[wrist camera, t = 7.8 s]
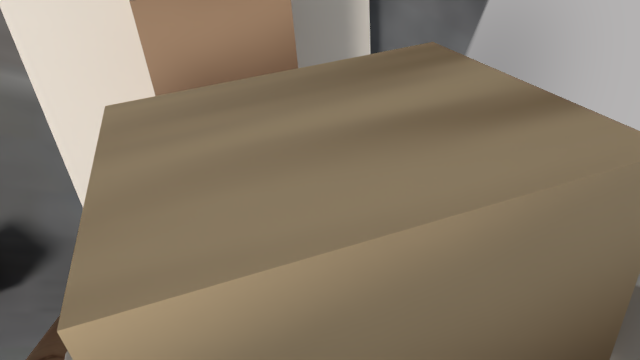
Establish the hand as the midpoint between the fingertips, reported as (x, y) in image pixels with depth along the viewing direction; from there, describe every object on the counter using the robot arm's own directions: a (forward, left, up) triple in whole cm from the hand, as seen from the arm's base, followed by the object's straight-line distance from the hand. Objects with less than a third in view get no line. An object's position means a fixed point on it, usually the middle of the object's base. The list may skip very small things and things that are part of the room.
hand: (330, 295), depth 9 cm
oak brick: (0, 0, -2) cm, 2 cm away
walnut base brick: (0, 0, -18) cm, 18 cm away
